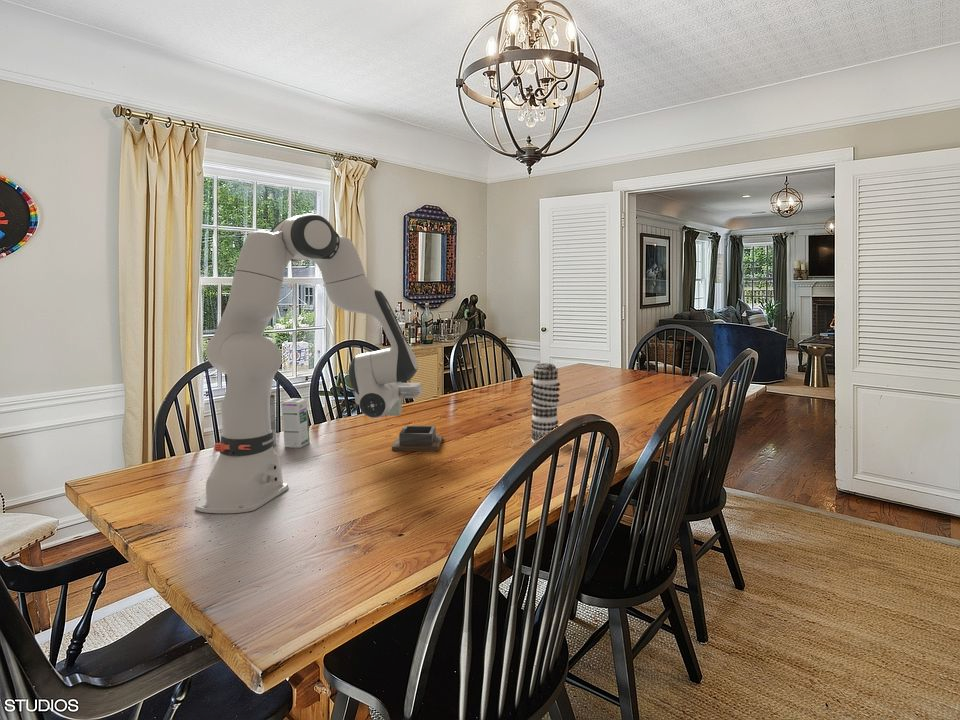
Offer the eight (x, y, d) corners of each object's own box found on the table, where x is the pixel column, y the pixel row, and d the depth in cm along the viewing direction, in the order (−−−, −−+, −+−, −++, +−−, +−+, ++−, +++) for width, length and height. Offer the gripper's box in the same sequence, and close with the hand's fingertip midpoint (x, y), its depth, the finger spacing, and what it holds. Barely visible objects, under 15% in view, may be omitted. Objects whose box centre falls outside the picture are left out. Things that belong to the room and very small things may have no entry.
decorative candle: (551, 447, 177) (553, 367, 173) (525, 443, 181) (525, 365, 178) (563, 440, 184) (565, 363, 181) (537, 436, 189) (538, 361, 186)
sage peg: (399, 415, 180) (398, 368, 178) (383, 415, 180) (382, 368, 178) (401, 411, 185) (400, 365, 183) (386, 411, 185) (385, 365, 183)
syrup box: (301, 448, 177) (298, 402, 175) (283, 447, 178) (281, 401, 176) (310, 443, 182) (308, 398, 180) (293, 442, 183) (290, 397, 181)
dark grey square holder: (437, 451, 173) (437, 435, 173) (391, 450, 174) (391, 435, 173) (442, 438, 187) (442, 424, 186) (400, 438, 188) (399, 424, 187)
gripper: (419, 383, 168) (425, 375, 181) (349, 383, 168) (360, 375, 182) (419, 404, 169) (425, 395, 182) (350, 404, 169) (361, 394, 183)
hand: (392, 385), depth 182 cm, fingers closed on sage peg, 5 cm apart
